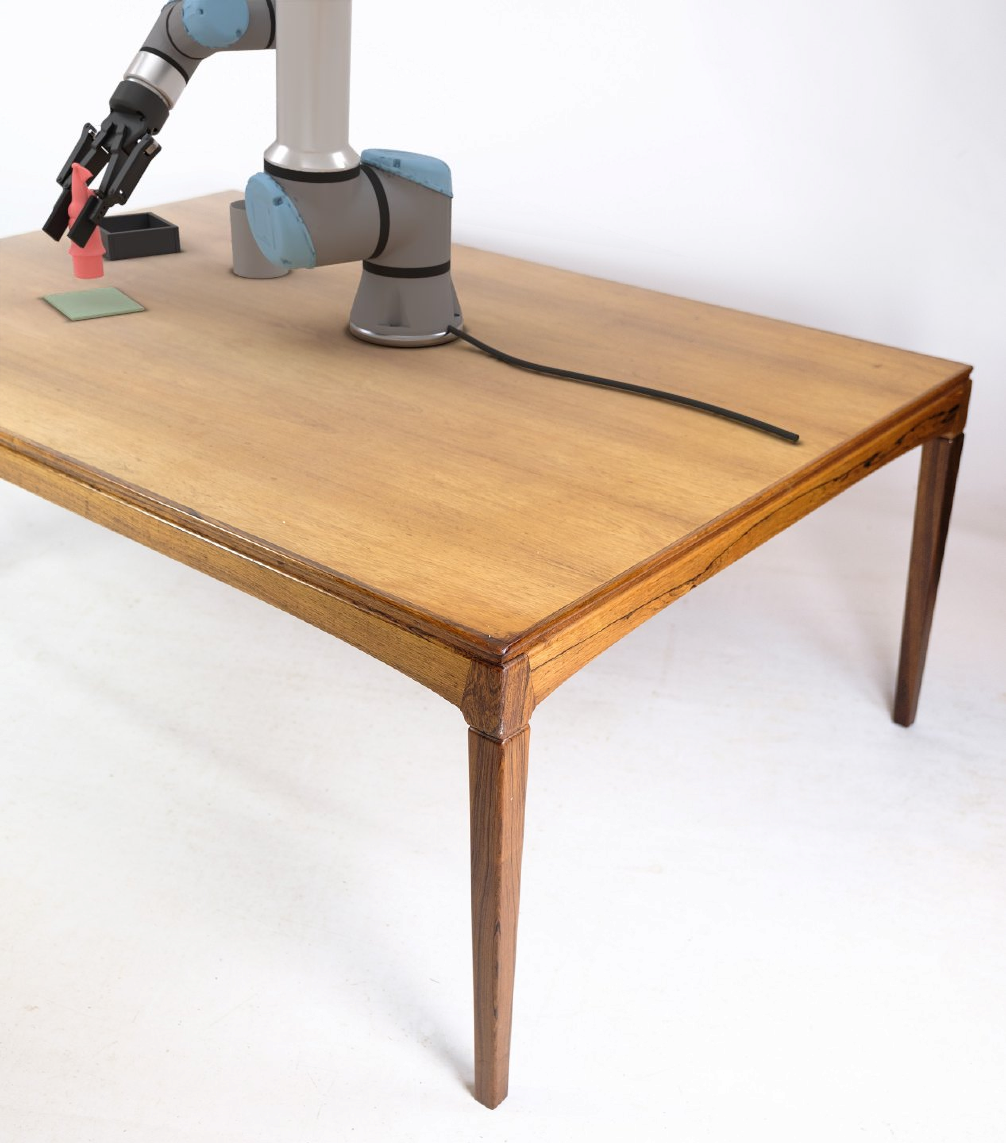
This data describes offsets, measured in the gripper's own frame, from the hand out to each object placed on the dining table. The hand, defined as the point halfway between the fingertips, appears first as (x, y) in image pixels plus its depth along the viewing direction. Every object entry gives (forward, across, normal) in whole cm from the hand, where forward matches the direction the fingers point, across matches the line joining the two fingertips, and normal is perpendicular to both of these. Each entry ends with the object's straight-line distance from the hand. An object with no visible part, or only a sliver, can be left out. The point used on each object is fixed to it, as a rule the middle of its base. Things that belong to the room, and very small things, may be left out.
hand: (62, 238), depth 172 cm
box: (-13, +20, -27) cm, 36 cm away
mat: (+4, 0, -10) cm, 10 cm away
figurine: (+1, 0, -7) cm, 7 cm away
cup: (-15, -5, -30) cm, 34 cm away
